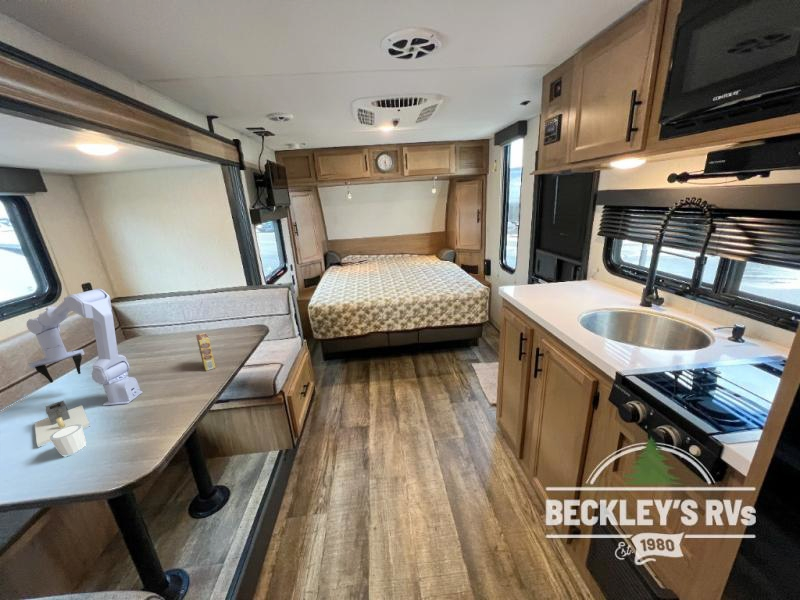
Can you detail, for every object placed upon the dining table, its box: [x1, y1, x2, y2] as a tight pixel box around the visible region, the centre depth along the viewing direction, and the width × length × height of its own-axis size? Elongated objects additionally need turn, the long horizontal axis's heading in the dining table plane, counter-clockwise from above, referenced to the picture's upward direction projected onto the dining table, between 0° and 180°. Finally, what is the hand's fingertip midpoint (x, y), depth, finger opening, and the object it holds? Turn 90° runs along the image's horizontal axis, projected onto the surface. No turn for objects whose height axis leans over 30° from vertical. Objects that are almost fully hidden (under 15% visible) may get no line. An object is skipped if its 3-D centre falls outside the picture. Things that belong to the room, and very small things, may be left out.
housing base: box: [34, 405, 91, 448], centre depth 107 cm, size 18×12×5 cm, turn 51°
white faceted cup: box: [50, 424, 87, 456], centre depth 94 cm, size 7×7×7 cm
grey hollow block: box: [45, 400, 70, 425], centre depth 109 cm, size 6×4×5 cm
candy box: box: [195, 332, 216, 371], centre depth 142 cm, size 9×4×15 cm, turn 39°
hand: (65, 377), depth 122 cm, fingers open, 7 cm apart
